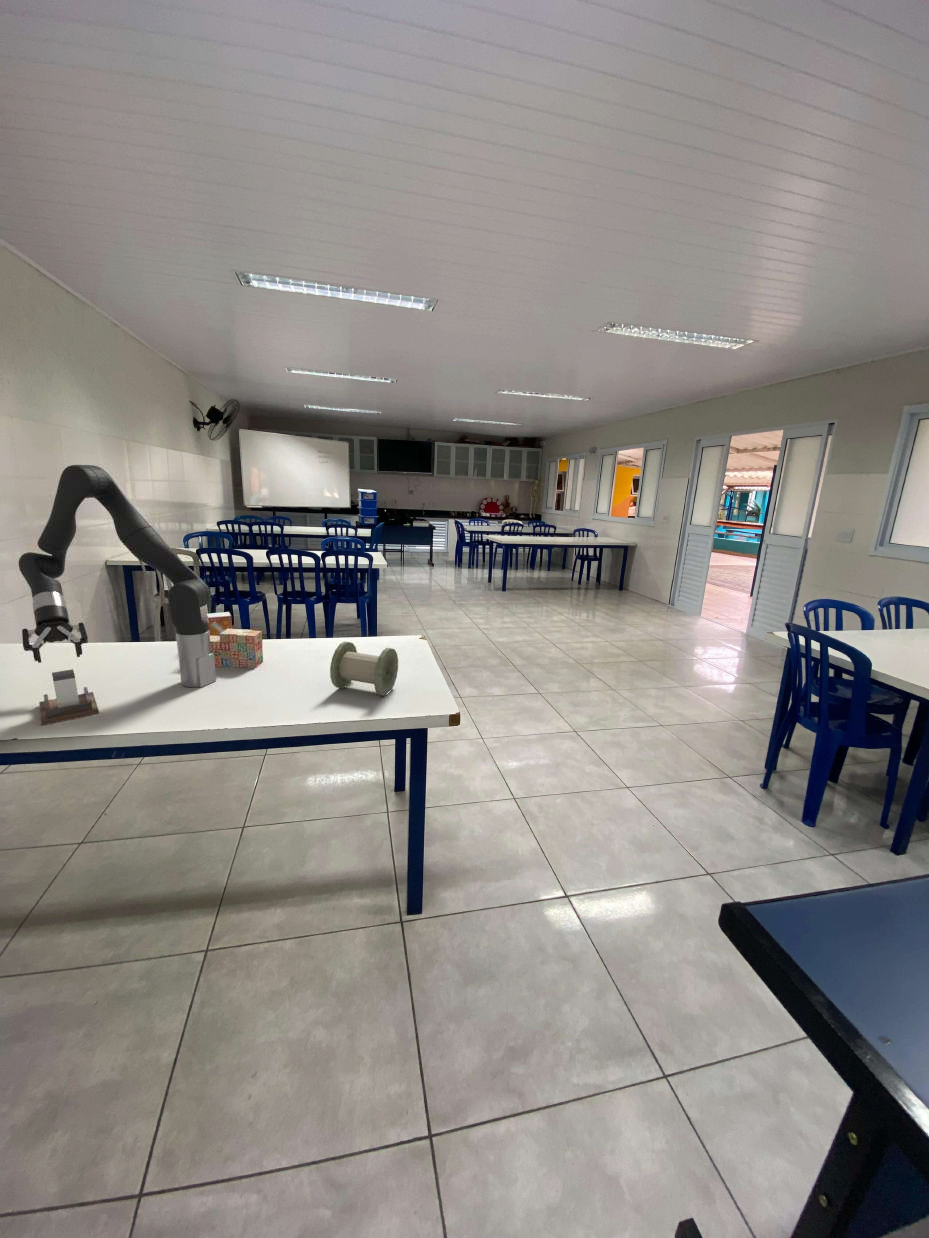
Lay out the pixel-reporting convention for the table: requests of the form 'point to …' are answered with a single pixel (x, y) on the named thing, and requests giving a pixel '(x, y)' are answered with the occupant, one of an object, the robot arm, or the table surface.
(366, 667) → the spool
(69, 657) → the table surface
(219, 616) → the small box
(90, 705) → the holder board
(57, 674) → the connector plug
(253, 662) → the stack of blocks
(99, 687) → the table surface
